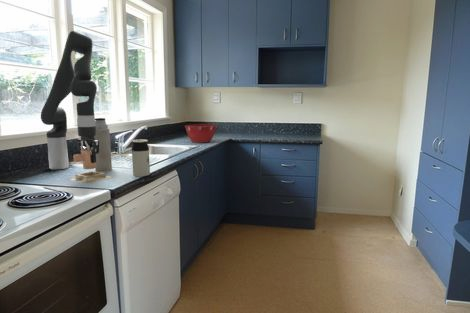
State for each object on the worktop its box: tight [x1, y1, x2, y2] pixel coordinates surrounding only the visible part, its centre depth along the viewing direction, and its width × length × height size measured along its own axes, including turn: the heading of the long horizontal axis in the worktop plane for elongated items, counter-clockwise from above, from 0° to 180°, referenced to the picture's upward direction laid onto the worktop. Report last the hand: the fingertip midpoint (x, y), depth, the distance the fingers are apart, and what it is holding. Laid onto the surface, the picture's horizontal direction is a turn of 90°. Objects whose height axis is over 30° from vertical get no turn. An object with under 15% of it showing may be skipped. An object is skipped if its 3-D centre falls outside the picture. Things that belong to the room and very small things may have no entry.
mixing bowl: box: [184, 123, 217, 144], centre depth 286 cm, size 28×28×15 cm
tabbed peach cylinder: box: [72, 148, 97, 170], centre depth 147 cm, size 10×6×9 cm, turn 148°
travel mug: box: [131, 138, 151, 177], centre depth 157 cm, size 8×8×18 cm
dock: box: [68, 170, 113, 184], centre depth 150 cm, size 14×14×3 cm
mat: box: [43, 186, 62, 193], centre depth 139 cm, size 12×12×1 cm
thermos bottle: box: [94, 117, 113, 172], centre depth 166 cm, size 8×8×28 cm
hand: (89, 161), depth 149 cm, fingers closed on tabbed peach cylinder, 5 cm apart
